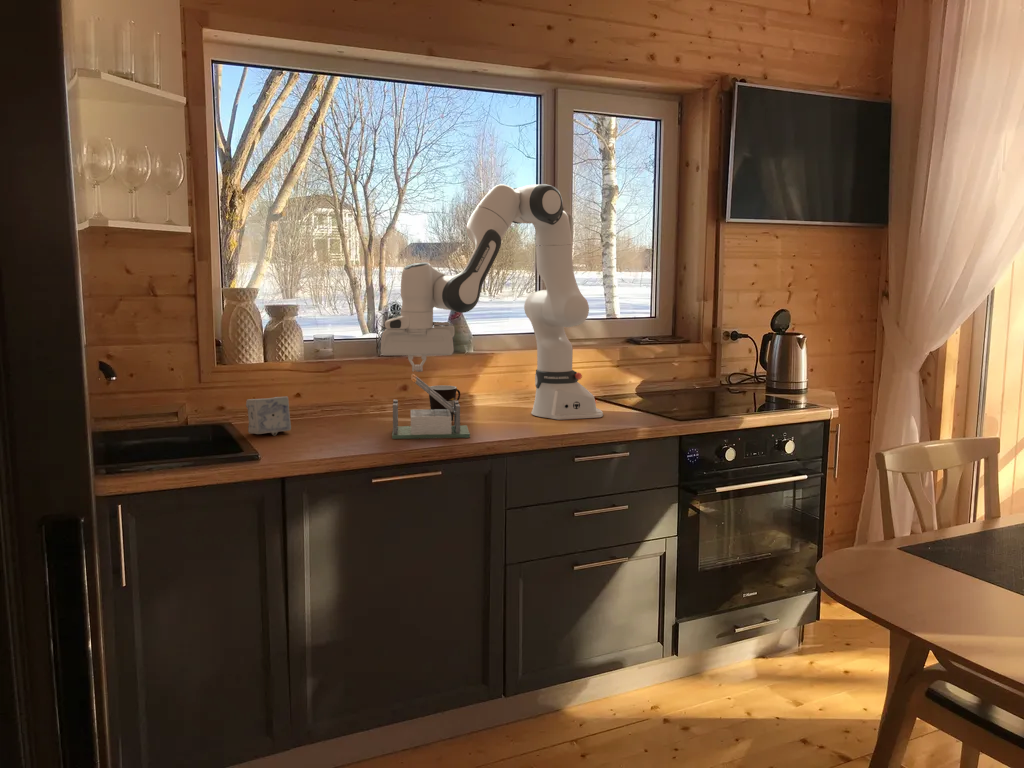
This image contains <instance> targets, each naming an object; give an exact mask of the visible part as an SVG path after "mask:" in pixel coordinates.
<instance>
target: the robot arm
mask: <svg viewBox="0 0 1024 768" xmlns="http://www.w3.org/2000/svg"><path fill="white" fill-rule="evenodd" d="M512 223H514V224H530V225H531V224H532V225H533V227H534V231H535V253H536V255H535V257H536V258H535V259H536V261H535V262H536V271H537V274H538V275H539V277H540V278H541V279H542V281H543V283H544V286H545V289H541V290H538V291H534V292H532V293H530V294H529V295H528V296H527V297H526V299H525V301H524V305H523V307H524V308H523V309H524V310H523V311H524V313H525V315H526V317H527V318H528V320H529V321H530V323H531V326H532V329H533V332H534V336H535V337H534V338H535V341H536V342H535V343H536V351H537V352H536V356H537V357H536V360H537V361H536V365H537V366H536V370H535V374H534V375H535V377H534V381H535V382H534V383H535V385H534V386H535V395H534V397H535V398H534V401H533V407H532V410H531V413H530V414H531V415H533V416H536V417H540V418H548V419H553V420H559V421H561V420H576V419H578V420H579V419H593V418H594V419H595V418H603V416H604V412H603V410H601V409H600V408H597V403H596V399H595V396H594V394H593V393H592V392H590V391H589V390H588V389H587V388H586V387H585V386H584V385H582V384H581V383H580V382H579V380H582V378H583V375H582V373H581V372H577V371H575V370H573V349H574V348H573V344H572V343H571V341H570V340H569V338H568V336H567V334H566V329H565V328H571V327H577V326H579V325H582V324H583V323H584V322H586V320H587V319H588V316H589V312H590V307H589V306H590V305H589V302H588V300H587V299H586V298H585V296H583V294H582V292H581V290H580V289H579V286H578V283H577V281H576V277H575V272H574V266H573V265H574V264H573V263H574V262H573V243H572V242H573V238H572V230H571V224H570V223H571V222H570V218H569V215H568V214H567V211H565V210H564V203H563V198H562V195H561V193H560V190H559V189H558V188H557V187H555V186H553V185H551V184H546V183H540V184H528V185H524V186H521V187H515V188H513V187H512V186H509V185H508V184H503V183H502V184H501V183H500V184H497V185H495V186H493V187H492V188H491V189H490V190H489V191H488V192H487V193H486V194H485V195H484V197H483V198H482V199H481V200H480V201H479V203H478V204H477V206H476V207H475V208H474V210H473V212H472V213H471V215H470V217H469V218H468V221H467V224H466V234H467V235H468V238H469V239H470V241H471V242H472V243H473V244H474V245H475V246H474V250H473V252H472V254H471V255H470V258H469V260H468V261H467V264H466V266H465V267H464V269H463V270H462V271H461V272H459V273H457V274H455V275H454V274H453V275H452V274H451V275H450V274H446V273H444V272H441V271H440V270H438V269H437V268H435V267H433V265H432V264H431V263H429V262H427V261H425V262H424V261H423V262H422V261H420V262H415V263H410V264H407V265H405V267H403V269H402V272H401V279H400V298H401V300H402V301H401V303H402V305H401V307H400V315H399V316H394V317H392V318H389V319H387V320H385V321H384V327H385V329H384V331H383V332H382V336H381V340H380V354H382V356H407V360H408V362H409V363H410V365H411V371H412V372H423V369H424V368H423V367H424V364H425V363H426V361H427V356H452V354H454V351H455V350H454V349H455V348H454V341H453V338H454V336H455V331H456V329H455V326H454V324H453V323H450V322H449V321H434V308H436V309H439V310H440V309H441V310H446V311H447V310H448V311H453V312H456V313H460V314H461V313H462V314H463V313H468V312H471V310H473V309H474V308H475V307H476V305H478V303H479V299H480V297H481V293H482V288H483V284H484V282H485V279H486V278H487V276H488V274H489V272H490V271H491V270H490V269H491V268H492V266H493V264H494V262H495V260H496V258H497V256H498V253H499V252H500V249H501V246H502V240H503V238H504V237H505V235H506V234H507V231H508V229H510V227H511V225H512ZM414 356H421V360H422V361H421V362H420V364H415V363H414V361H413V360H414Z"/></svg>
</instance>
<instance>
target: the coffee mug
mask: <svg viewBox="0 0 1024 768" xmlns="http://www.w3.org/2000/svg"><path fill="white" fill-rule="evenodd" d="M429 387H430V388H432V389H433V390H434V391H435V392H437V393H438V394H439V395H440V396H441V397H443V398H444V399H445V400H446V401H448V402H449V403H450V404H451V405H452V406H454V401H458V402H459V401H460V398H461V391H460V390H459V389H457V386H454V385H442V384H441V385H432V386H430V385H429ZM457 393H458V397H457ZM428 398H429V406H430V409H447V408H445V407H444V406H443V405H442V404H440V403H439V402H438V401H437V400H436V399H434V398H433V397H432V396H431V395H429V394H428ZM450 413H451V422H454V413H453V412H450Z"/></svg>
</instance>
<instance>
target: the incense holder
mask: <svg viewBox="0 0 1024 768" xmlns="http://www.w3.org/2000/svg"><path fill="white" fill-rule="evenodd" d="M289 402H290V400H289V396H287V395H286V396H275V397H269V398H267V397H266V398H251V399H249V398H248V399H246V402H245V403H246V404H245V406H246V408H247V417H248V434H250V435H251V434H252V435H253V434H255V435H262V434H271V435H272V436H277V434H278V433H280V432H289V431H292V430H291V429H292V425H291V424H292V423H291V415H290V405H289Z"/></svg>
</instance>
